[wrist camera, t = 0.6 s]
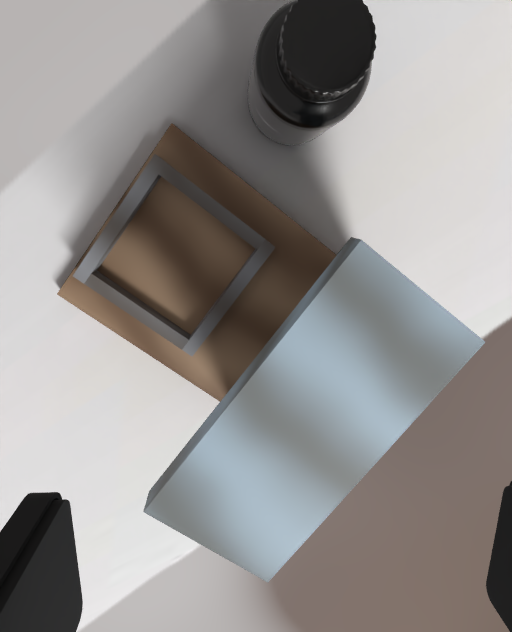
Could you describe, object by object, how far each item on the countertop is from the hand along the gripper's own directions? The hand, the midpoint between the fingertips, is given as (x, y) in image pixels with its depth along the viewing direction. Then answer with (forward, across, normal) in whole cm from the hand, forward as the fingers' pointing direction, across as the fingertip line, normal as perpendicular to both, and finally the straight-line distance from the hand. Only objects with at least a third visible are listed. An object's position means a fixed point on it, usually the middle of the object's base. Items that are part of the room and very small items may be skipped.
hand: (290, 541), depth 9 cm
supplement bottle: (+28, -3, -15) cm, 31 cm away
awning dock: (+27, +3, 0) cm, 27 cm away
